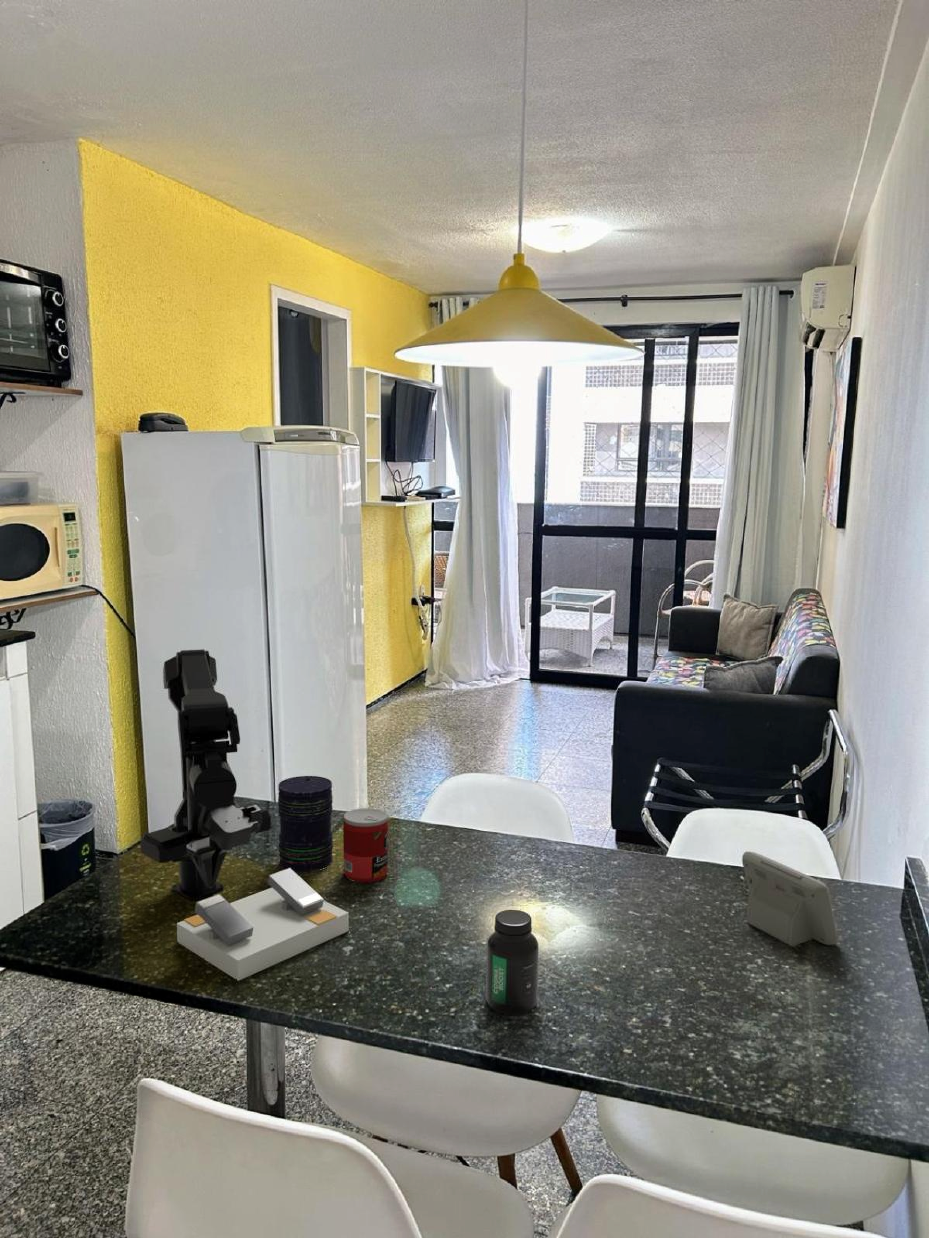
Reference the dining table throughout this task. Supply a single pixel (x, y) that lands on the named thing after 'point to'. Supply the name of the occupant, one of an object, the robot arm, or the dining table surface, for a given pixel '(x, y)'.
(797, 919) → the digital clock
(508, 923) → the supplement bottle
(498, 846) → the dining table surface
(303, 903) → the rocker
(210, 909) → the block
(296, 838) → the storage jar
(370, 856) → the canned food
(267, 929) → the switch base
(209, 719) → the robot arm
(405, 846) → the dining table surface
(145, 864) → the dining table surface
